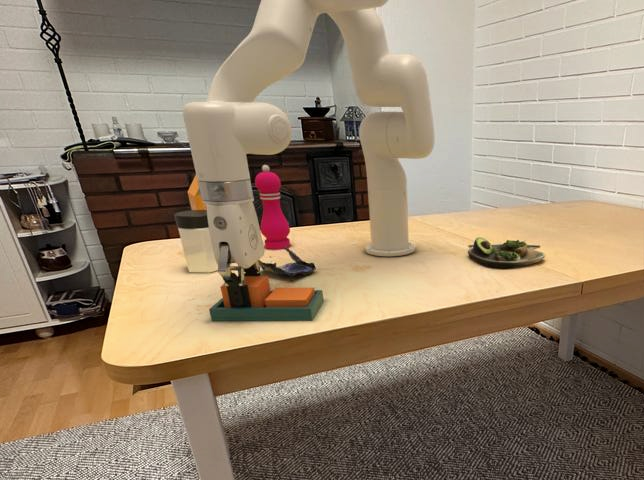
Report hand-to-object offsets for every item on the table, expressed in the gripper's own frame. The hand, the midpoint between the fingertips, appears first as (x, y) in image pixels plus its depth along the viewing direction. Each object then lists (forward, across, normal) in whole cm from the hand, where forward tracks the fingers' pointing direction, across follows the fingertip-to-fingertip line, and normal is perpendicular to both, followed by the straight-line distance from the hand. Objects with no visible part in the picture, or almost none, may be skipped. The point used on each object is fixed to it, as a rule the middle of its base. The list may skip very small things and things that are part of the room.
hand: (248, 300), depth 81 cm
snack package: (+2, +22, 0) cm, 22 cm away
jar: (+2, +27, +18) cm, 33 cm away
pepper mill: (+2, +47, +8) cm, 48 cm away
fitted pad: (+2, 0, -7) cm, 8 cm away
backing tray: (+2, 0, -4) cm, 4 cm away
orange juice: (+2, +40, +20) cm, 45 cm away
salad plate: (+2, +34, -50) cm, 60 cm away
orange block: (+1, 0, 0) cm, 1 cm away
